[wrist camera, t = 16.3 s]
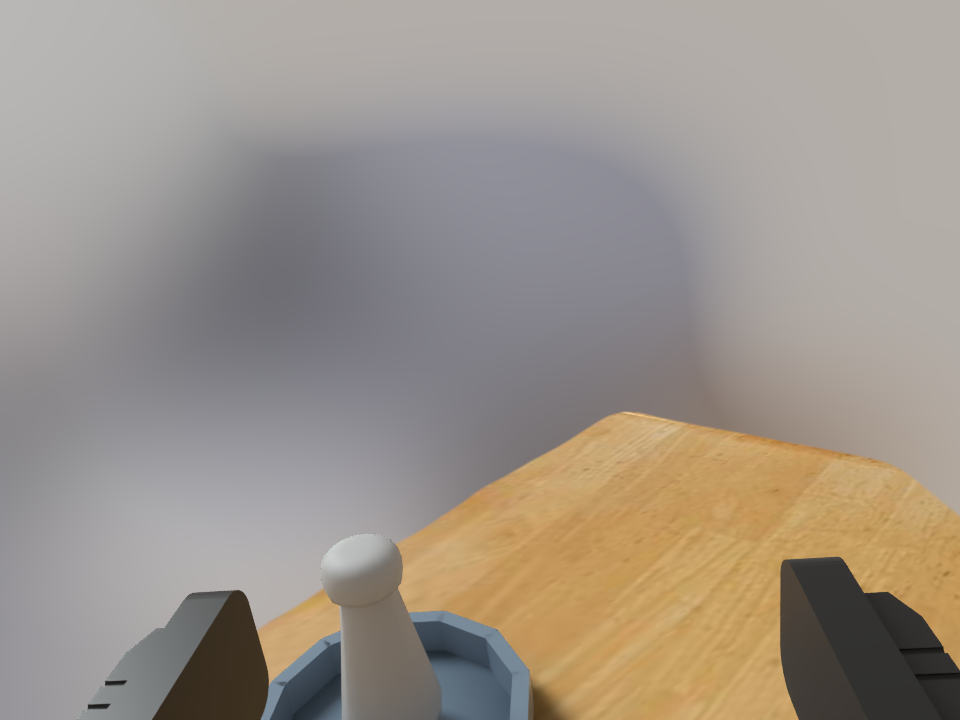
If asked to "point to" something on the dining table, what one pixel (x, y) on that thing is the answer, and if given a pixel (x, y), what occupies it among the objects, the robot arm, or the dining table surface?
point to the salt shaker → (378, 635)
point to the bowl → (454, 658)
